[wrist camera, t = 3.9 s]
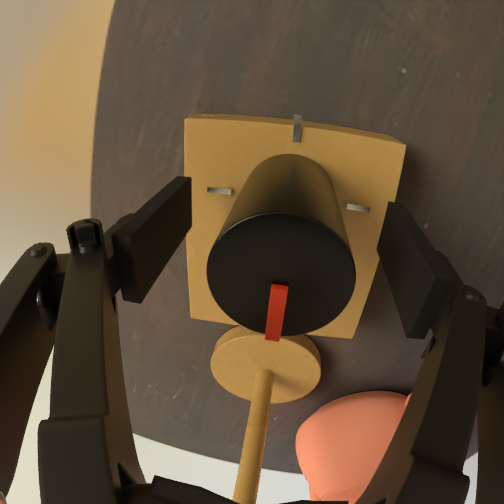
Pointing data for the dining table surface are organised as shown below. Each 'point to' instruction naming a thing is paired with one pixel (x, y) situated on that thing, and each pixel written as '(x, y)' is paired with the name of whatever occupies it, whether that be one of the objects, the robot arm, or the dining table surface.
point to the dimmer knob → (283, 251)
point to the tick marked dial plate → (300, 143)
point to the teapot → (347, 443)
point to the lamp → (262, 388)
